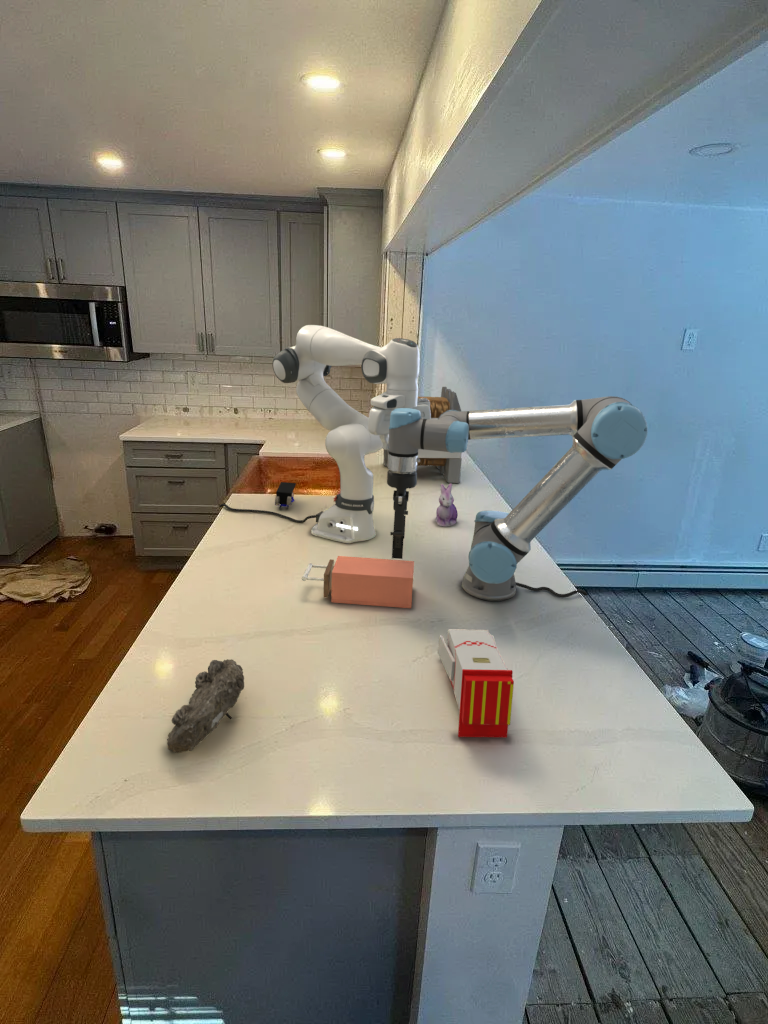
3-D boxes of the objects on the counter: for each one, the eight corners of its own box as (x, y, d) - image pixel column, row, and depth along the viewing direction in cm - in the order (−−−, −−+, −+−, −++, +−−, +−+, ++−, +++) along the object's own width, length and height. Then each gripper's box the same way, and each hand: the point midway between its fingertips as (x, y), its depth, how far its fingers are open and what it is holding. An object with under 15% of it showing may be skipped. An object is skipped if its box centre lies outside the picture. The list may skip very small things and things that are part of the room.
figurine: (442, 528, 206) (446, 489, 201) (428, 519, 214) (431, 481, 209) (464, 525, 210) (468, 486, 205) (449, 516, 218) (452, 479, 213)
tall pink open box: (331, 602, 152) (331, 572, 149) (337, 584, 162) (337, 555, 159) (411, 608, 151) (413, 578, 148) (412, 589, 161) (414, 561, 158)
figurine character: (292, 514, 217) (296, 498, 230) (291, 496, 214) (296, 480, 227) (274, 514, 217) (280, 497, 230) (273, 496, 213) (279, 480, 227)
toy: (488, 613, 130) (523, 677, 101) (484, 667, 133) (517, 744, 104) (435, 612, 130) (455, 676, 101) (432, 666, 133) (451, 743, 103)
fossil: (192, 660, 117) (244, 628, 112) (224, 691, 120) (276, 661, 115) (142, 746, 98) (202, 712, 93) (182, 779, 101) (242, 748, 96)
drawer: (301, 595, 152) (301, 572, 150) (308, 580, 161) (308, 557, 159) (398, 603, 151) (399, 579, 149) (400, 586, 160) (401, 564, 158)
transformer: (382, 463, 289) (386, 382, 275) (445, 464, 293) (451, 384, 279) (390, 482, 257) (394, 392, 243) (460, 483, 261) (468, 394, 247)
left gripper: (423, 395, 167) (420, 441, 172) (365, 399, 156) (364, 448, 160) (437, 398, 162) (434, 446, 167) (379, 403, 151) (377, 453, 155)
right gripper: (416, 485, 131) (411, 568, 139) (417, 459, 155) (413, 531, 162) (384, 483, 132) (380, 566, 139) (390, 457, 155) (387, 529, 162)
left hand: (399, 447), depth 164 cm, fingers open, 8 cm apart
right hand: (398, 547), depth 151 cm, fingers open, 13 cm apart
